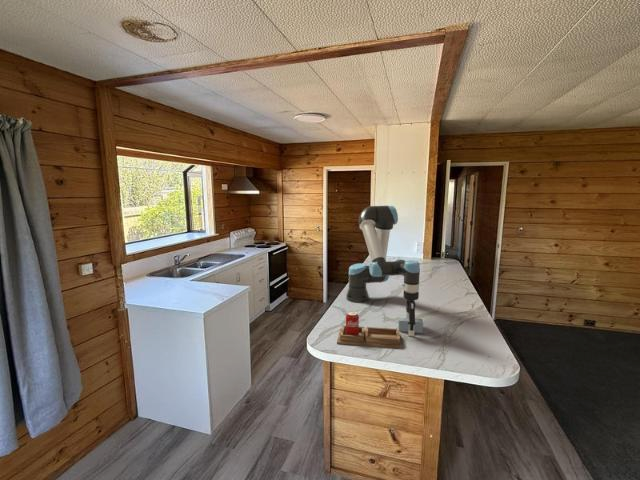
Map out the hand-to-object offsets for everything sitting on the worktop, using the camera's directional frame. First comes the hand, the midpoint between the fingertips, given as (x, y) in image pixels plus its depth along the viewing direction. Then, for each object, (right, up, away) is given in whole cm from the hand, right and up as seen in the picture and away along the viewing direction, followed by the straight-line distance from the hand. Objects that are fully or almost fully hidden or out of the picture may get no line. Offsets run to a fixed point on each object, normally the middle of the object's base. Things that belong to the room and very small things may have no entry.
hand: (409, 329), depth 164 cm
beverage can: (-31, -1, -8) cm, 32 cm away
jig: (-23, -2, -9) cm, 25 cm away
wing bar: (0, 0, 0) cm, 0 cm away
